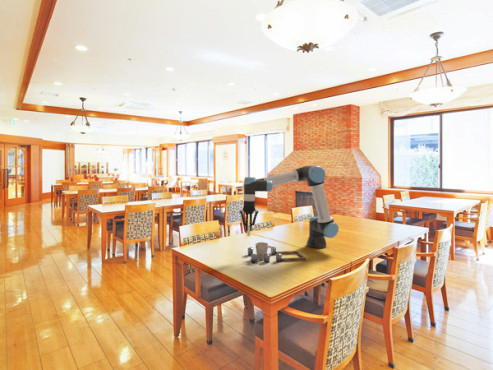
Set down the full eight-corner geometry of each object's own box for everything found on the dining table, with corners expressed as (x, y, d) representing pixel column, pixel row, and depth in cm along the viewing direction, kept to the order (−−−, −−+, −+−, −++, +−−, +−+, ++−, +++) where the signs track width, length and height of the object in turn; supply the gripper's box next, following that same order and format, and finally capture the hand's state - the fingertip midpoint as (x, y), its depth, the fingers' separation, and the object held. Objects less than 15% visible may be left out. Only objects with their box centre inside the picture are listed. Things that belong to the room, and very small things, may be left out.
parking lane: (298, 253, 198) (298, 250, 197) (305, 260, 182) (306, 257, 182) (275, 254, 195) (276, 251, 195) (281, 261, 180) (281, 258, 180)
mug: (253, 257, 188) (253, 242, 187) (270, 255, 192) (270, 241, 192) (258, 261, 180) (258, 246, 179) (275, 259, 184) (275, 244, 184)
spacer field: (275, 253, 197) (275, 246, 196) (282, 262, 178) (282, 254, 178) (247, 254, 194) (247, 247, 193) (251, 263, 175) (251, 255, 175)
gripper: (257, 199, 187) (257, 234, 188) (238, 199, 185) (238, 234, 186) (260, 201, 179) (259, 236, 181) (240, 201, 177) (239, 237, 179)
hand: (248, 235), depth 183 cm, fingers closed
